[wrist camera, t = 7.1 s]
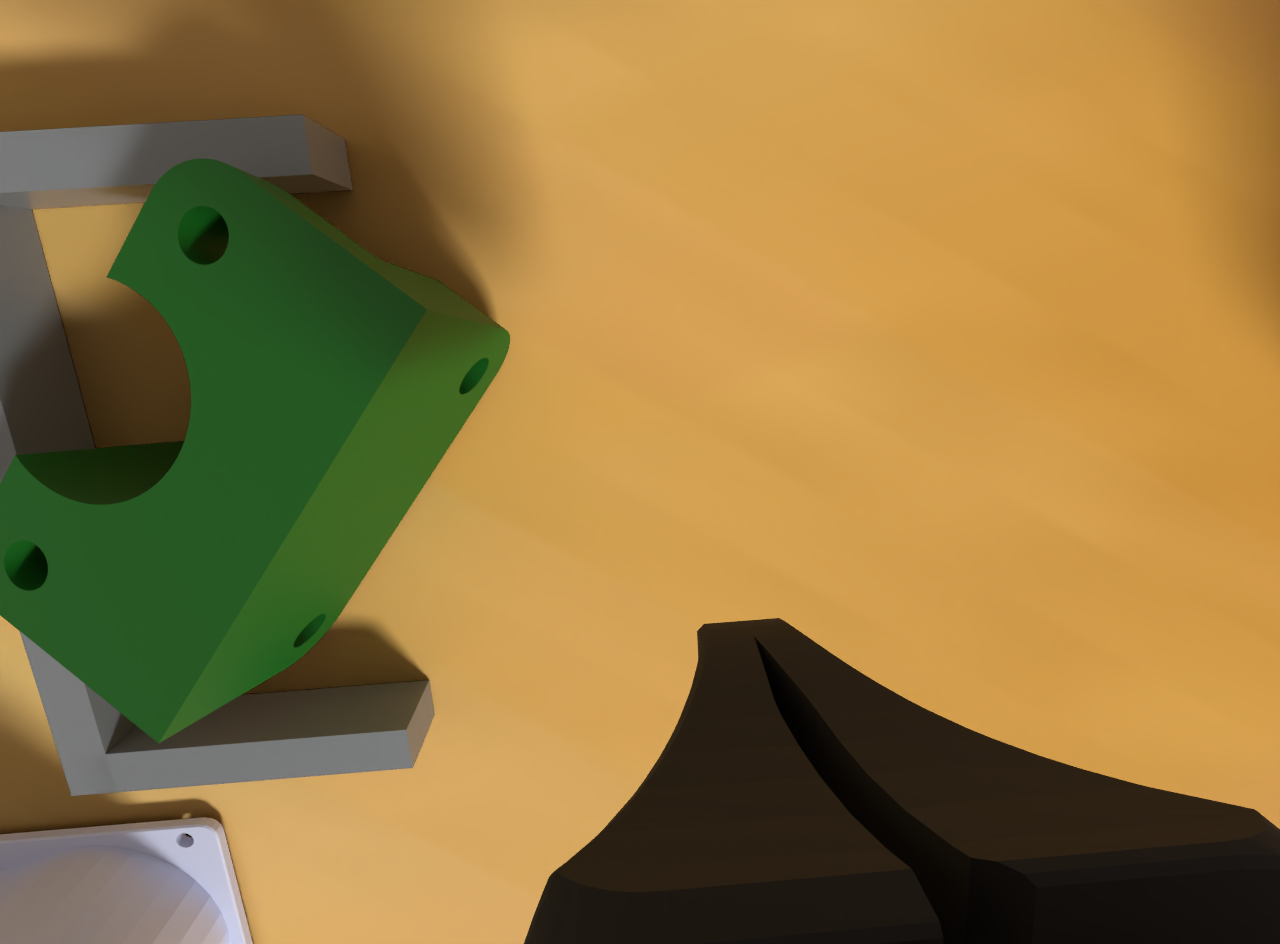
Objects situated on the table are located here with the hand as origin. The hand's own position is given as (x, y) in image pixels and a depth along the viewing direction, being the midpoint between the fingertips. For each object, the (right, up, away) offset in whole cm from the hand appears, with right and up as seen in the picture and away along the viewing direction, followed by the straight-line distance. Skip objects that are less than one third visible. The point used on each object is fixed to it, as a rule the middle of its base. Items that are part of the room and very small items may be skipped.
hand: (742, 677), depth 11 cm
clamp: (-11, +5, +8) cm, 14 cm away
